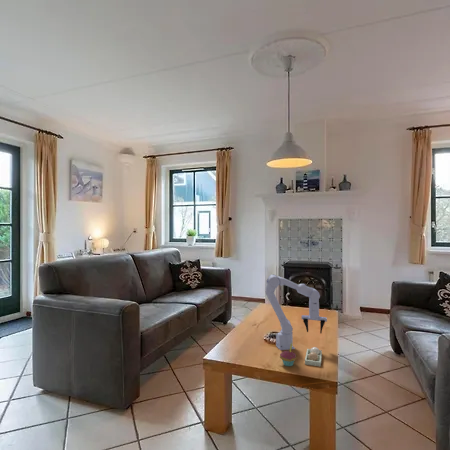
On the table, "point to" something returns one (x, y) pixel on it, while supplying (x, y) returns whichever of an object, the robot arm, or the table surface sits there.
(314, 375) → the table surface
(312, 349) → the white egg
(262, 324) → the table surface
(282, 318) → the robot arm
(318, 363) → the carton
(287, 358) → the cupcake
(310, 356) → the brown egg
